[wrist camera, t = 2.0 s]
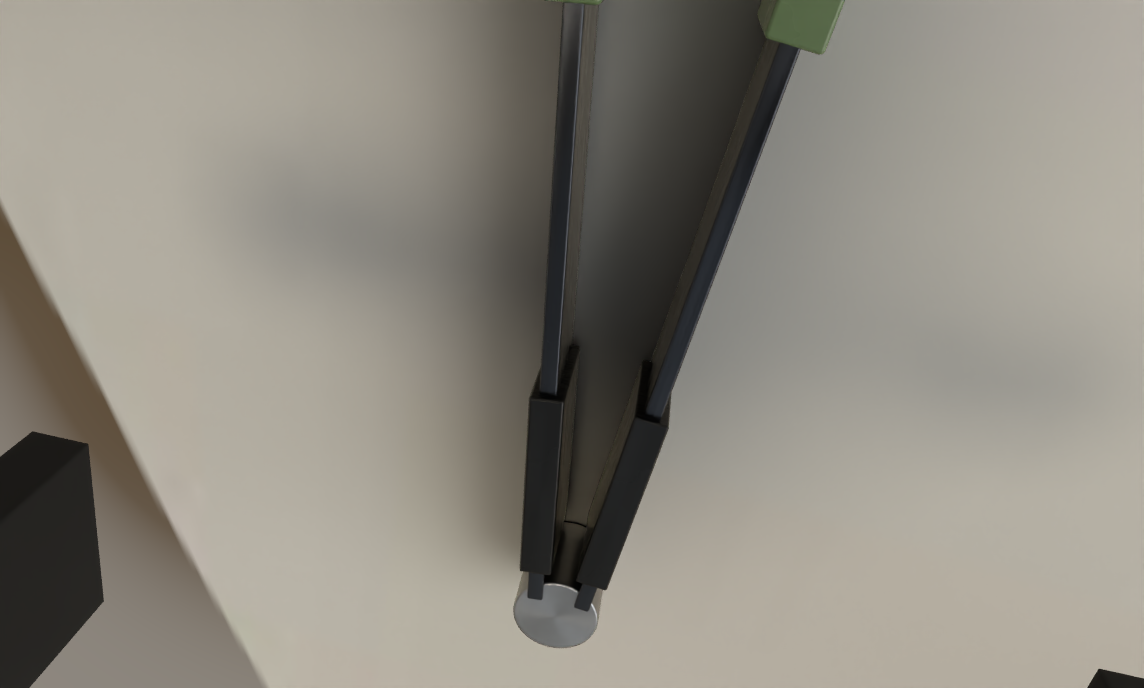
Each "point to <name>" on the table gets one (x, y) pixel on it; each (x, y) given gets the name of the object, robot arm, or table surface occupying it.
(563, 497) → the tongs
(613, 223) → the table surface
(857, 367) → the table surface
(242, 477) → the table surface
